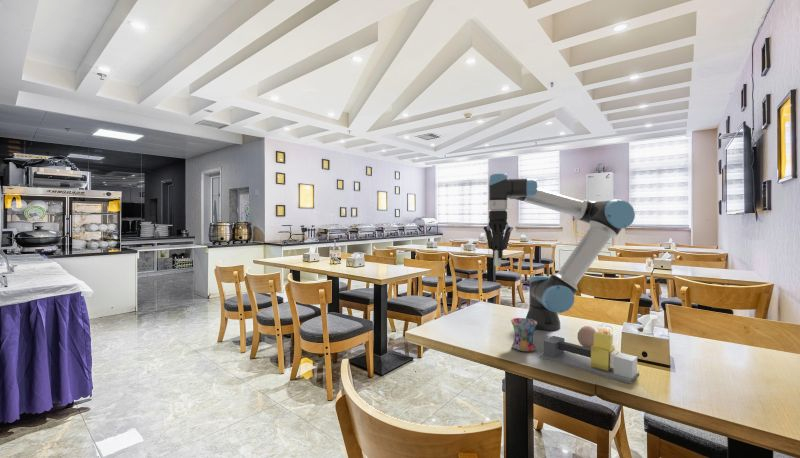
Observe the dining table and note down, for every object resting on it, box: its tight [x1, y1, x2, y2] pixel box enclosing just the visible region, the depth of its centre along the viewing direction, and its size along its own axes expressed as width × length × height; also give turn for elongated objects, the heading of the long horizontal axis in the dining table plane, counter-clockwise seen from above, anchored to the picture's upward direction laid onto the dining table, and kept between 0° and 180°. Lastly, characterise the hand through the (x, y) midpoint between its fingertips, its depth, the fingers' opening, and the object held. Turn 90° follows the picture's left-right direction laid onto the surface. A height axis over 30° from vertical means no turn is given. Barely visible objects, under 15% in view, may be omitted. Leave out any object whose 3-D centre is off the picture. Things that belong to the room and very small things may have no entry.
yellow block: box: [590, 331, 616, 371], centre depth 117 cm, size 6×5×10 cm
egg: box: [577, 325, 597, 348], centre depth 137 cm, size 7×7×8 cm
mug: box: [510, 317, 537, 352], centre depth 136 cm, size 12×9×11 cm
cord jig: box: [538, 335, 640, 384], centre depth 120 cm, size 10×28×7 cm, turn 43°
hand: (497, 265), depth 153 cm, fingers closed
